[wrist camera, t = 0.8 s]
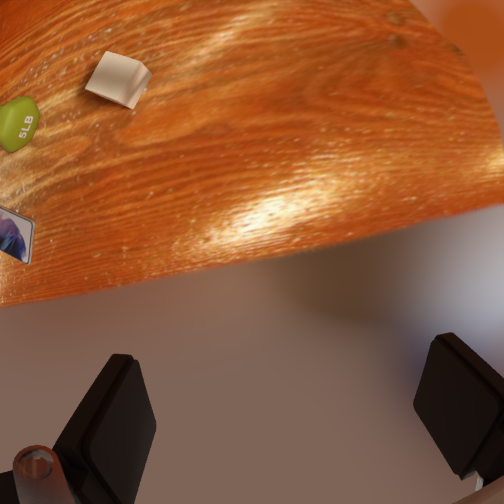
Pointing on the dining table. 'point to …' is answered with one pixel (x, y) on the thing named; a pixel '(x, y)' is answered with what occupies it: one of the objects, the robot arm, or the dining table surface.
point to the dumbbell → (18, 122)
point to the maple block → (119, 79)
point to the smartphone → (16, 235)
